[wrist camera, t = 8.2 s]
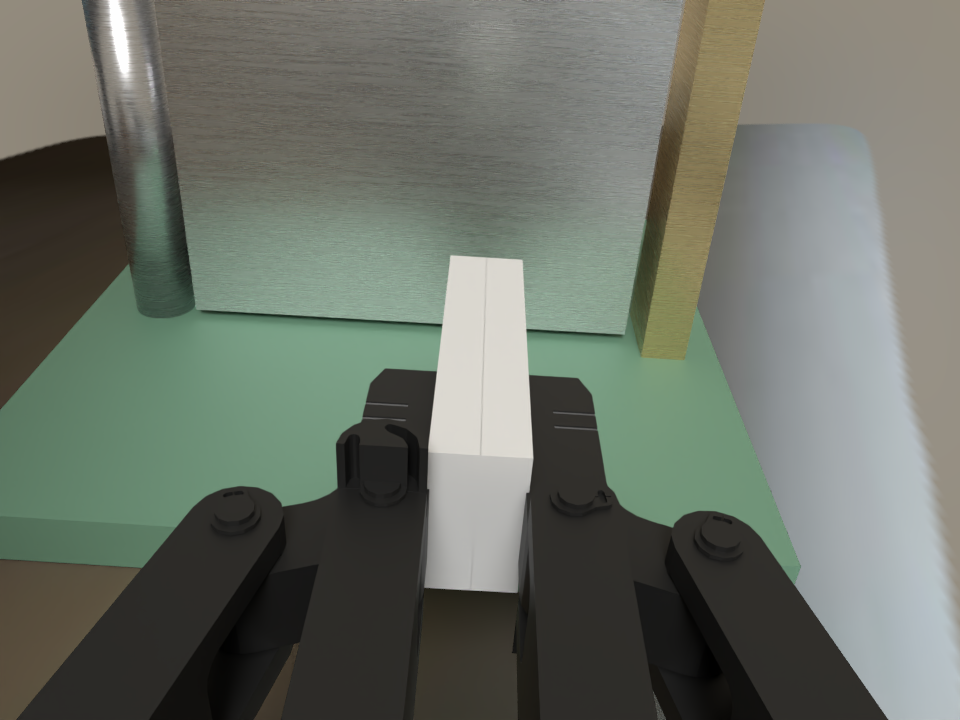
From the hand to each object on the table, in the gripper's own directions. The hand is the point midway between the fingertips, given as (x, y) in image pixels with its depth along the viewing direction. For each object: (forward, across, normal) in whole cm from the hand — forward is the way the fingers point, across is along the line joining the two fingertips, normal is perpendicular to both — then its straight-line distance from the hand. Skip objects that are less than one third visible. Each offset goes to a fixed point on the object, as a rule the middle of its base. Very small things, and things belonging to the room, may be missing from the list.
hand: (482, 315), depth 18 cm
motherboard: (+10, -3, -8) cm, 13 cm away
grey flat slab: (+11, -2, -6) cm, 12 cm away
